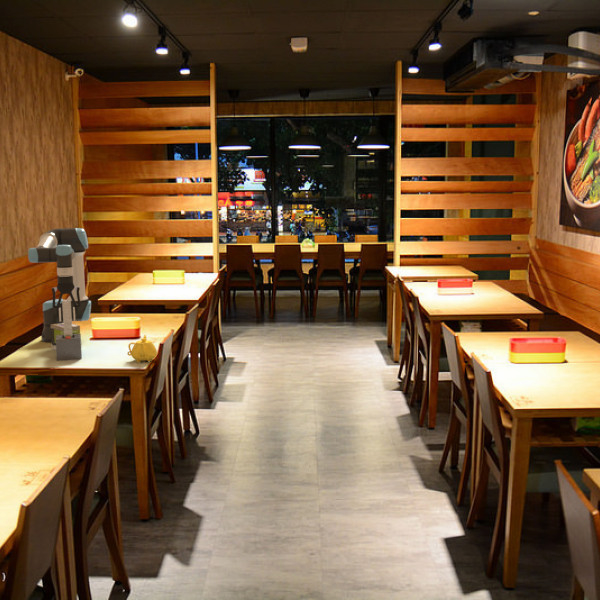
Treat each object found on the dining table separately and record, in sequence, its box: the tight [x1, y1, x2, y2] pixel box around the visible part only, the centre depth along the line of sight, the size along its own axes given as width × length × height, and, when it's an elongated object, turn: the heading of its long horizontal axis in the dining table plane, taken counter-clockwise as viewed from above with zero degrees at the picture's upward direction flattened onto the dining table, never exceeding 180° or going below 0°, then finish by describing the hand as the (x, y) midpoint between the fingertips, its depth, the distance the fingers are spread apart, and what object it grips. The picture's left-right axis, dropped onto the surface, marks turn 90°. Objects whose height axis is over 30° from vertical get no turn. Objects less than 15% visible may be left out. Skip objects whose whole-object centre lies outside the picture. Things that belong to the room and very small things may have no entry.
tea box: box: [50, 323, 81, 351], centre depth 377 cm, size 15×10×15 cm
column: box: [62, 299, 73, 338], centre depth 357 cm, size 6×4×24 cm
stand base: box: [55, 333, 83, 362], centre depth 359 cm, size 16×16×13 cm
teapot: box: [126, 334, 158, 363], centre depth 357 cm, size 20×15×12 cm
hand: (67, 320), depth 357 cm, fingers open, 6 cm apart
